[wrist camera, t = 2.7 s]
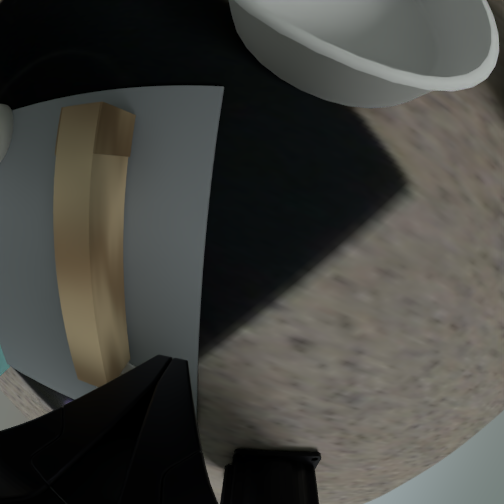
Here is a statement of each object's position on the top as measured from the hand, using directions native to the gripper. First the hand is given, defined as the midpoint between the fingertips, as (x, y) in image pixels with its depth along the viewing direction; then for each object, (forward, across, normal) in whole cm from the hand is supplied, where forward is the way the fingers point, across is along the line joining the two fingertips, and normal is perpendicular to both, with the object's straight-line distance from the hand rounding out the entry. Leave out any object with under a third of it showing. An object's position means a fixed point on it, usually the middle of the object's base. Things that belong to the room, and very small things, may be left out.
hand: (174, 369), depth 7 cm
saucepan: (+7, -3, -18) cm, 20 cm away
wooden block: (+6, +6, -1) cm, 8 cm away
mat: (+6, +13, +1) cm, 15 cm away
